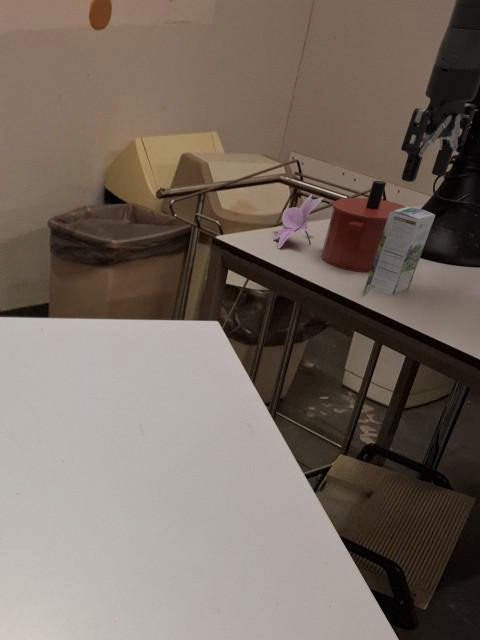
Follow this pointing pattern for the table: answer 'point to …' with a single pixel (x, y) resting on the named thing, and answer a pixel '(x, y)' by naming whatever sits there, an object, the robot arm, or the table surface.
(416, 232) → the syrup box
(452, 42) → the robot arm
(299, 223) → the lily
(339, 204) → the pot lid
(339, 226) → the pot
